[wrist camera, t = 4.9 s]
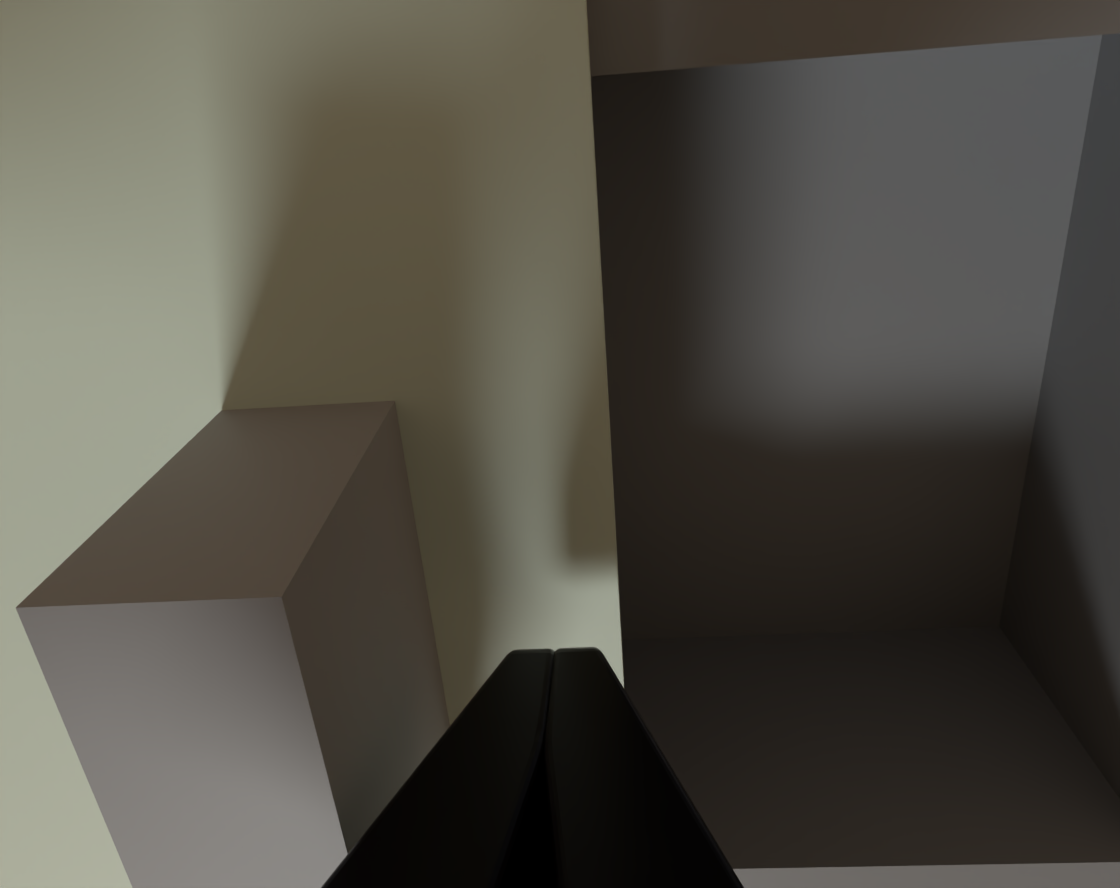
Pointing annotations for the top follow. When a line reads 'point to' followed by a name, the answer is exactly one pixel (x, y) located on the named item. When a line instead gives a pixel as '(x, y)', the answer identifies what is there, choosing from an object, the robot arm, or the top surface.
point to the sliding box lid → (284, 415)
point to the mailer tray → (870, 427)
